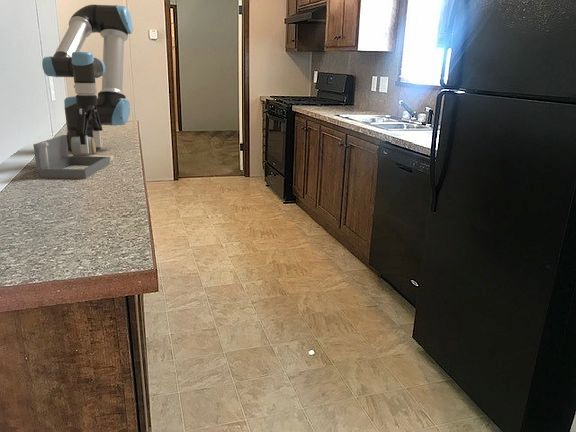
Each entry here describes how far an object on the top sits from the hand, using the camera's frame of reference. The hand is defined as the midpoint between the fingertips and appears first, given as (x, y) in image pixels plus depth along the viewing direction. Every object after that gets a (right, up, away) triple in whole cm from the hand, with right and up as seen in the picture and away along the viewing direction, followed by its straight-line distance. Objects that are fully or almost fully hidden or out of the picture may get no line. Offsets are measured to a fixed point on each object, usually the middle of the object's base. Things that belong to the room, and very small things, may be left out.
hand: (91, 150), depth 186 cm
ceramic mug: (0, -3, +1) cm, 3 cm away
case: (+2, -10, -18) cm, 20 cm away
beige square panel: (0, -4, +1) cm, 4 cm away
